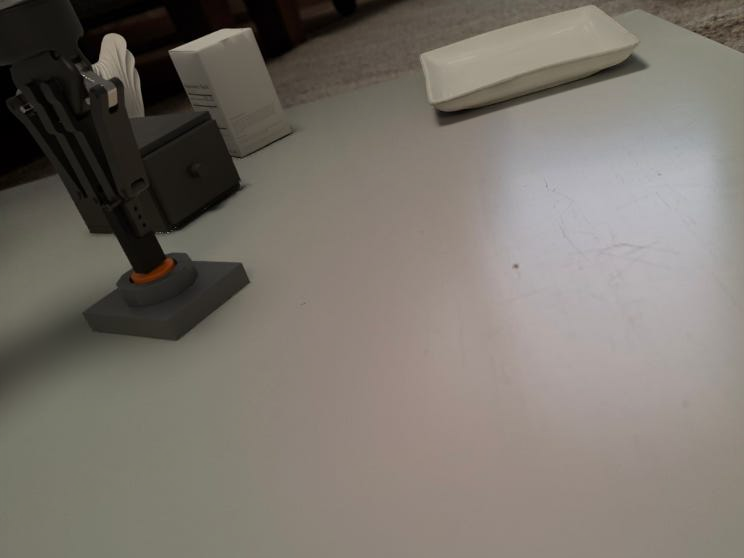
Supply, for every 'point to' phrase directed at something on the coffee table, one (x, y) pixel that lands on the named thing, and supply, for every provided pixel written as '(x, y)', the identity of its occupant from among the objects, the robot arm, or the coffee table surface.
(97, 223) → the grey drawer box
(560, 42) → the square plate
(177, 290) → the control block
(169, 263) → the button
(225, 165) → the pull-out drawer with knob
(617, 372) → the coffee table surface
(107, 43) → the shell sculpture
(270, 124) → the rectangular carton
